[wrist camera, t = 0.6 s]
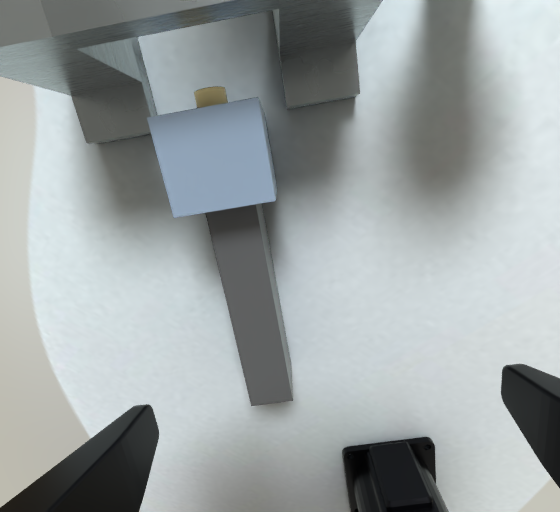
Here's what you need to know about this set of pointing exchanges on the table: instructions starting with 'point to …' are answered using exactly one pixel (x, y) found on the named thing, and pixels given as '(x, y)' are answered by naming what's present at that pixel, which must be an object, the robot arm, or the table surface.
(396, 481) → the robot arm
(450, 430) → the table surface
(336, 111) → the table surface
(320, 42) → the gray arch-shaped bracket
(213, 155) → the plug
